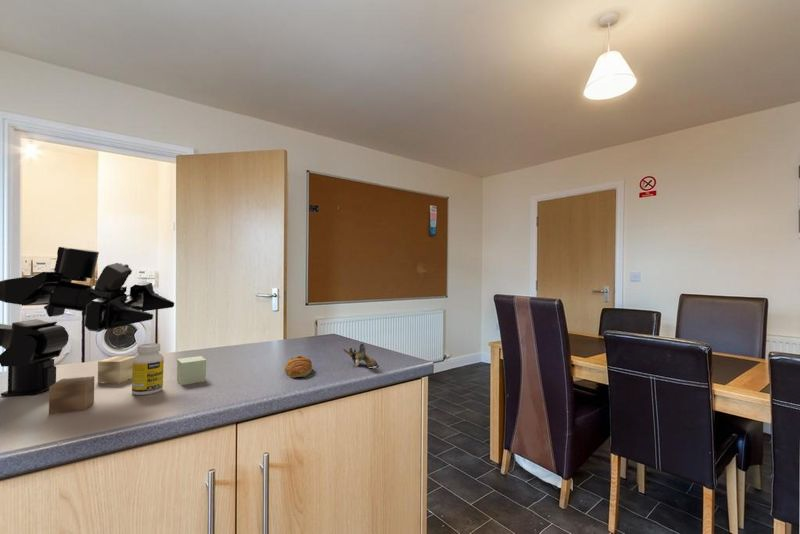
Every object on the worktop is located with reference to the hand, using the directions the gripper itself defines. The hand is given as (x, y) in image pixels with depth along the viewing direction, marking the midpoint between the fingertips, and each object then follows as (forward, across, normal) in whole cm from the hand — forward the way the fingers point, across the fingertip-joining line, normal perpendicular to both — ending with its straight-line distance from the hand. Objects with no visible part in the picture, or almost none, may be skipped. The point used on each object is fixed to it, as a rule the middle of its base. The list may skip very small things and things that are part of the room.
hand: (163, 310), depth 81 cm
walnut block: (-7, -15, +16) cm, 23 cm away
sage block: (+8, 0, +16) cm, 18 cm away
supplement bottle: (+2, -7, +16) cm, 17 cm away
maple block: (-9, +3, +20) cm, 22 cm away
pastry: (+31, +5, +13) cm, 34 cm away
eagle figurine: (+47, +10, +11) cm, 49 cm away
